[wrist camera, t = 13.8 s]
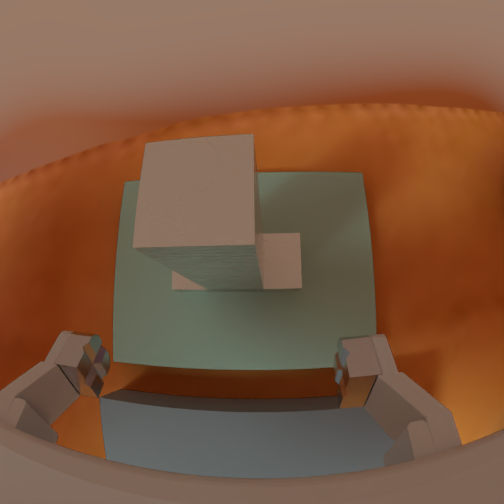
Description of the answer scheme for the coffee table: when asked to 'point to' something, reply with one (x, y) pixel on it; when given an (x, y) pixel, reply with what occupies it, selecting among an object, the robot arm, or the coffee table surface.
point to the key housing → (240, 435)
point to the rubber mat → (256, 303)
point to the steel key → (211, 218)
